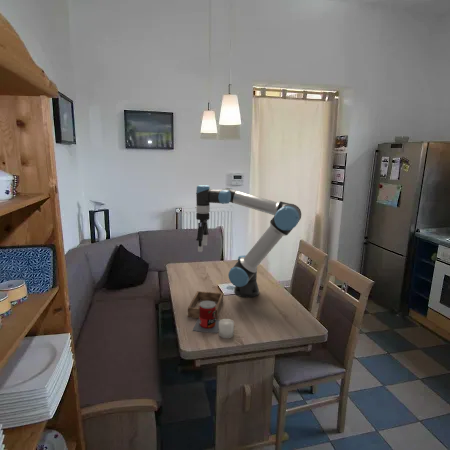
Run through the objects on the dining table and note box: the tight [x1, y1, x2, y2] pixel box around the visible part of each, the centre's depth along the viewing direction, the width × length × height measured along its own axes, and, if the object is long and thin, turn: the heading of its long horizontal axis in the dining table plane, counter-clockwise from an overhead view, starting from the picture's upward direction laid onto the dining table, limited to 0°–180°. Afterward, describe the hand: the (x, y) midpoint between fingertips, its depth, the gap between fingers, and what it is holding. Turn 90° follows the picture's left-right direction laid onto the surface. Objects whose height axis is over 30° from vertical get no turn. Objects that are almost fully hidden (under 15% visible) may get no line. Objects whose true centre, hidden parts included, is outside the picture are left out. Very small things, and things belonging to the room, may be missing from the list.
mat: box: [192, 318, 221, 334], centre depth 155 cm, size 12×12×1 cm
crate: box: [187, 291, 224, 320], centre depth 172 cm, size 15×22×5 cm
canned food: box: [199, 300, 217, 329], centre depth 154 cm, size 8×8×11 cm
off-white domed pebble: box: [218, 318, 235, 339], centre depth 147 cm, size 7×7×6 cm
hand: (202, 248), depth 185 cm, fingers open, 13 cm apart
